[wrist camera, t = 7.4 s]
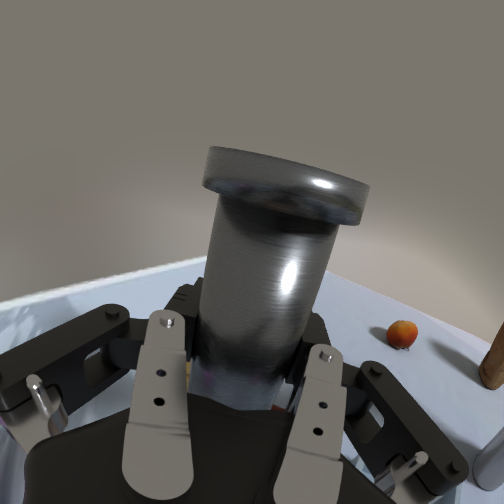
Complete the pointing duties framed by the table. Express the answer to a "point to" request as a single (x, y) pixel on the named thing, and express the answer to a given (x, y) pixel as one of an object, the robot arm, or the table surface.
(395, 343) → the fruit
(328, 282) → the table surface
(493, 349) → the block
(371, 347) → the table surface
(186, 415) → the robot arm
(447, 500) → the tray
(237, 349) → the pin
